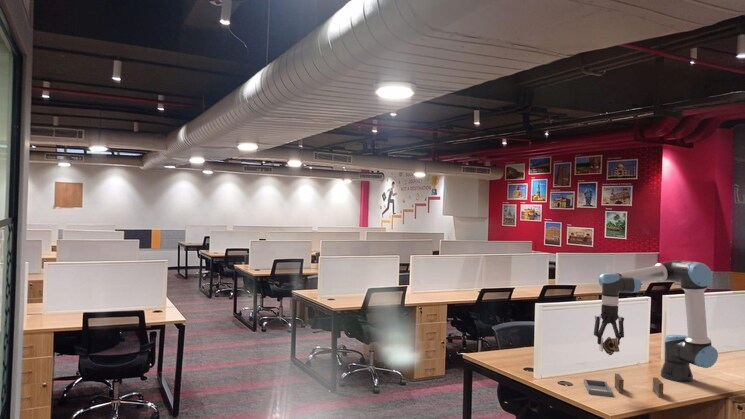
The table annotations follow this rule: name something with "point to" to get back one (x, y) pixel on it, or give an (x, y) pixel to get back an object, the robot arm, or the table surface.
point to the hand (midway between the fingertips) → (608, 351)
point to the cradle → (656, 385)
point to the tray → (598, 387)
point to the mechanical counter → (611, 345)
